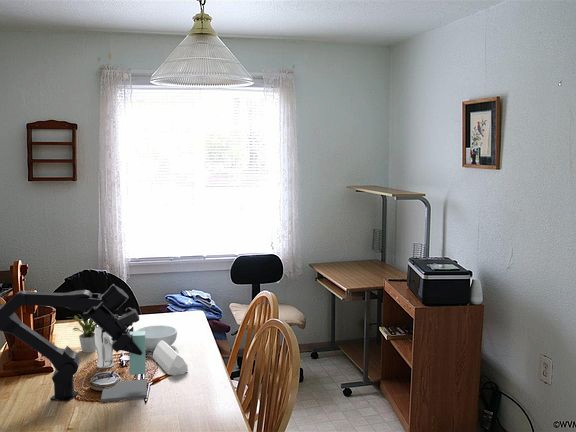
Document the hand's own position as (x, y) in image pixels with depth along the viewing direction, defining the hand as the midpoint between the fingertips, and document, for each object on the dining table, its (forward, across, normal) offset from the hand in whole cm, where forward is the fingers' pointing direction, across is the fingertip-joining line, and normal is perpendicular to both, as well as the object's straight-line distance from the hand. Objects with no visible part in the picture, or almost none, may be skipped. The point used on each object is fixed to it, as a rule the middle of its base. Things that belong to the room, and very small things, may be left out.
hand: (141, 351), depth 195 cm
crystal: (+16, +22, +3) cm, 27 cm away
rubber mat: (+6, 0, +13) cm, 14 cm away
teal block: (+4, 0, +6) cm, 7 cm away
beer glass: (0, +27, +19) cm, 33 cm away
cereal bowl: (+13, +43, +6) cm, 45 cm away
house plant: (-6, +46, +25) cm, 52 cm away
